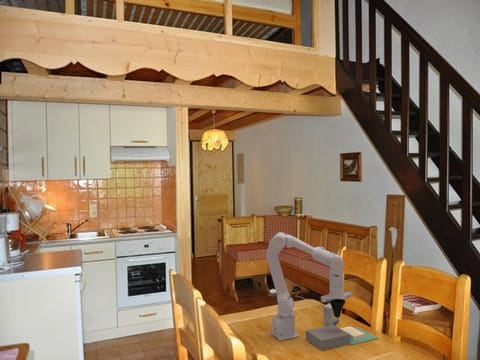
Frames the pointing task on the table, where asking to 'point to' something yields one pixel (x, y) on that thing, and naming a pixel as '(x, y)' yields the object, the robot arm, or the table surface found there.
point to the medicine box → (329, 315)
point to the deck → (327, 337)
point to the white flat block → (354, 333)
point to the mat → (367, 337)
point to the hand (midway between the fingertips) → (337, 316)
